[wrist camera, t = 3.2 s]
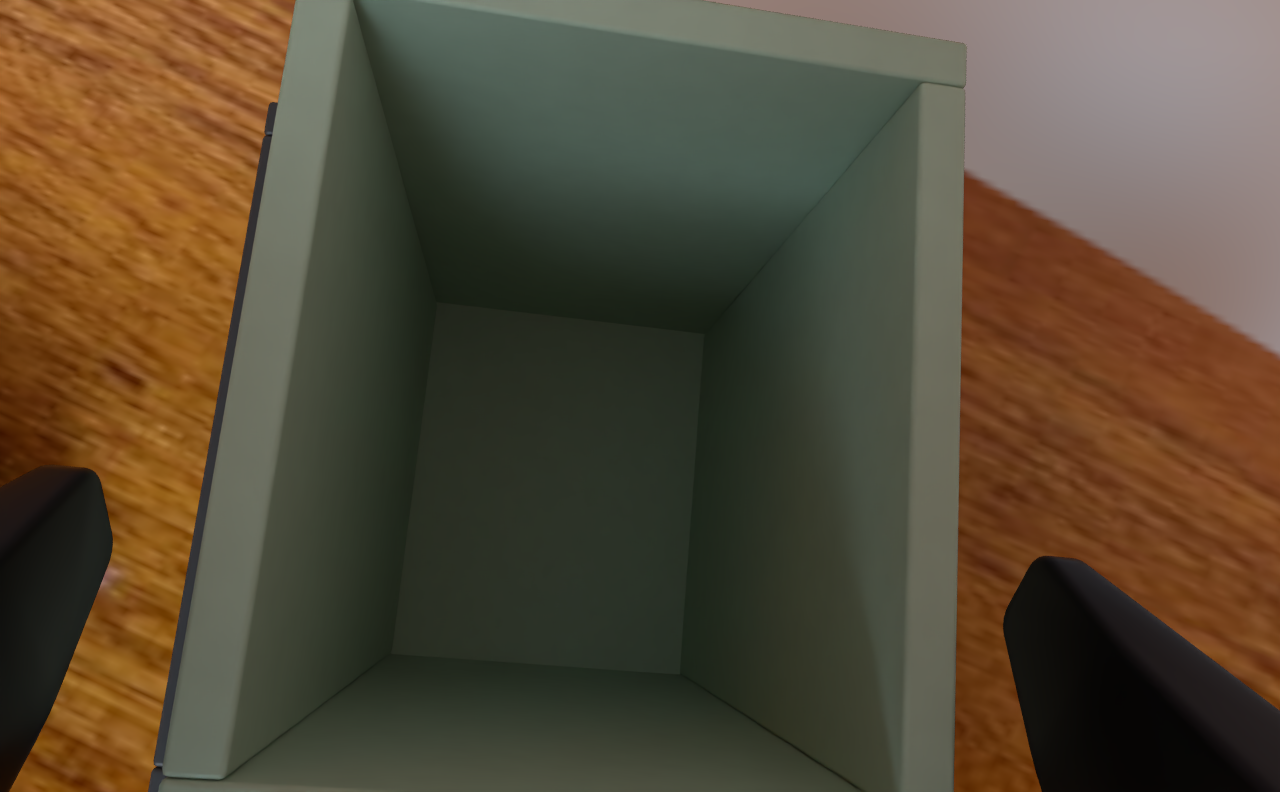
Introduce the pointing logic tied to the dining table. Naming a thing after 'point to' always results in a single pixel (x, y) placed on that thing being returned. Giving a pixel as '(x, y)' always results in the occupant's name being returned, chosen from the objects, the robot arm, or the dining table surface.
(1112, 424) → the dining table surface
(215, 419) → the charcoal basket
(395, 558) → the green basket
